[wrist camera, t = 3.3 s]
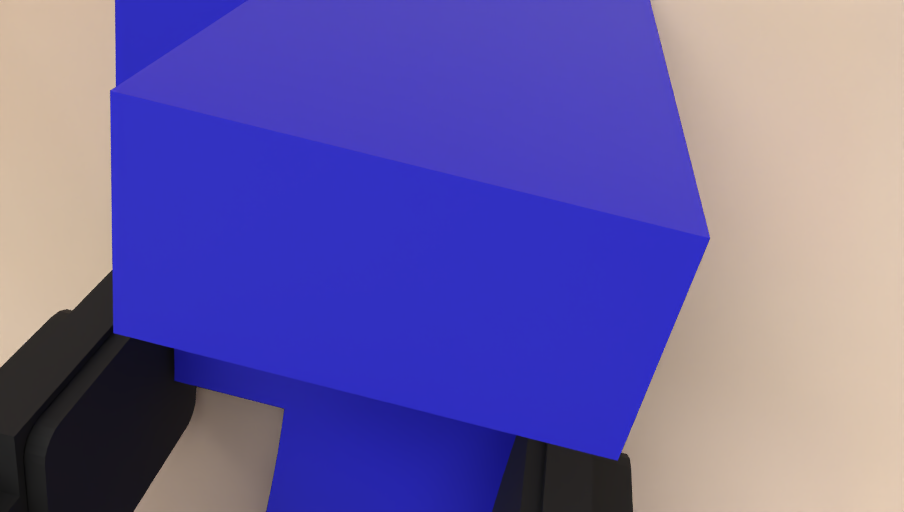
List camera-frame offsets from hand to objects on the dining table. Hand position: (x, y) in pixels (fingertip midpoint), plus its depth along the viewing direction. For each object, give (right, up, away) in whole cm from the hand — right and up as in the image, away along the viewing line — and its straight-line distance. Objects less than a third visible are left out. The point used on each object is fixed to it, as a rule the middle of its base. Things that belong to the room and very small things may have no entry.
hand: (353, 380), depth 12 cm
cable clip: (0, 0, +1) cm, 1 cm away
